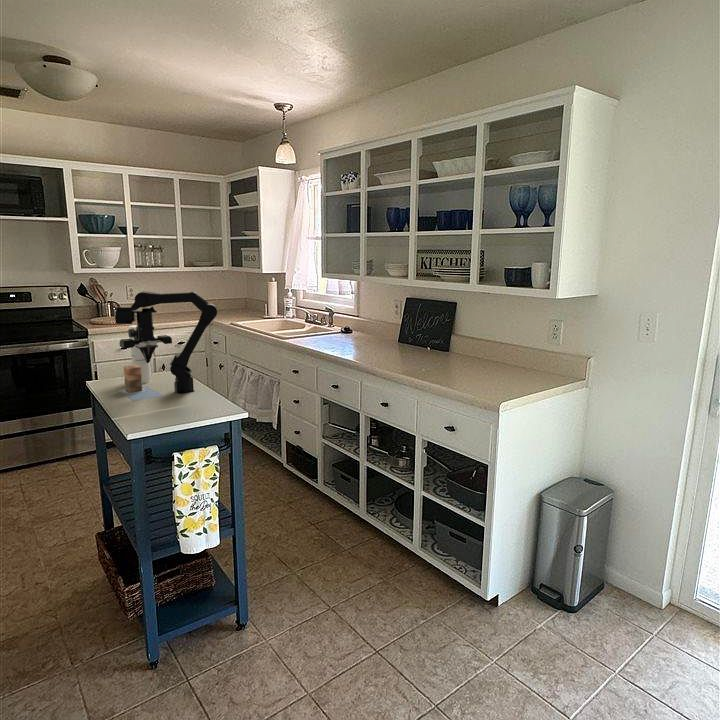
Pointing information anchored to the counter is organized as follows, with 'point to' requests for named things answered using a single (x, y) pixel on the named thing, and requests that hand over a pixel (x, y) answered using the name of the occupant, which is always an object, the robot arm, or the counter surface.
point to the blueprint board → (142, 394)
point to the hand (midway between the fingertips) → (147, 362)
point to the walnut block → (133, 386)
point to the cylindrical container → (140, 361)
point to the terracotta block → (132, 372)
